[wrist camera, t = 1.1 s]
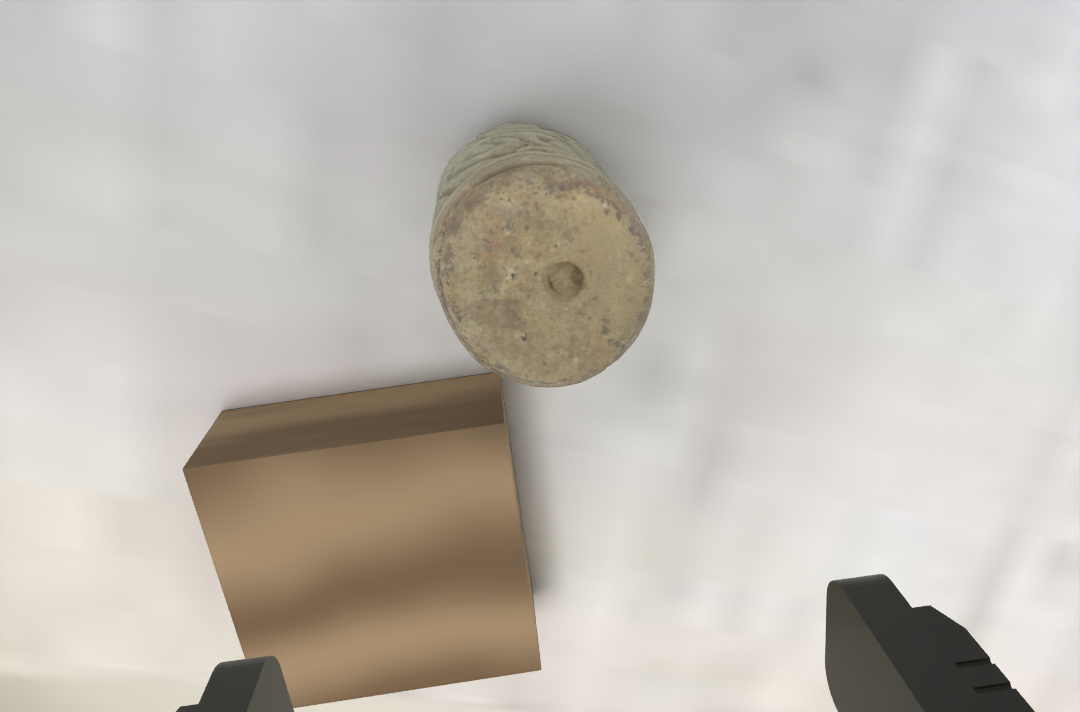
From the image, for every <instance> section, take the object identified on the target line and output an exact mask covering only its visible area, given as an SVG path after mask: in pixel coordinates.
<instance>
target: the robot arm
mask: <svg viewBox="0 0 1080 712" xmlns="http://www.w3.org/2000/svg"><path fill="white" fill-rule="evenodd" d="M825 668H826V675H827V681H828V685H829V689H830V692H831V696H832V698H833V701H834V704H835V706H836V708H837V710H838V712H1035V711H1034V710H1033V709H1032V708H1031V707H1030V705H1029V704H1028V703H1027V702H1026V701H1025V699H1024V698H1023V697H1022V696H1021V695H1020V693H1019V692H1018V691H1017V690H1016V689H1012V687H1011V685H1010V681H1009V680H1008V679H1007V678H1006V677H1005V675H1004V674H1003V673H1002V672H1001V671H1000V669H999V668H998V667H997V666H996V665H995V664H992V663H991V661H990V657H989V656H988V655H987V654H986V653H985V651H984V650H983V649H982V648H981V647H980V645H979V644H978V643H977V642H976V641H975V639H974V638H973V637H972V636H971V635H970V633H969V632H968V631H967V630H966V629H965V628H964V627H962V626H961V625H959V624H958V623H956V622H955V621H953V620H952V619H950V618H949V617H947V616H946V615H944V614H943V613H941V612H939V611H938V610H936V609H935V608H933V607H932V606H922V607H915V608H912V607H911V606H910V605H909V603H908V602H907V601H906V599H905V598H904V597H903V595H902V594H901V593H900V592H899V590H898V589H897V588H896V586H895V585H894V584H893V582H892V581H891V580H890V579H889V578H888V577H887V576H885V575H883V574H878V575H870V576H863V577H856V578H848V579H841V580H834V581H831V582H830V583H829V585H828V588H827V606H826V647H825ZM176 712H294V710H293V706H292V703H291V699H290V696H289V693H288V689H287V686H286V683H285V679H284V676H283V673H282V669H281V666H280V664H279V662H278V660H277V658H276V657H274V656H265V657H257V658H250V659H243V660H236V661H228V662H222V663H219V664H218V665H217V666H216V667H215V669H214V671H213V673H212V675H211V677H210V679H209V682H208V684H207V686H206V688H205V691H204V693H203V695H202V697H201V700H200V702H199V704H196V705H189V706H182V707H180V708H179V709H178V710H177V711H176Z"/></svg>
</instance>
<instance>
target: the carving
mask: <svg viewBox="0 0 1080 712" xmlns="http://www.w3.org/2000/svg"><path fill="white" fill-rule="evenodd" d="M429 248H430V256H429V257H430V270H431V275H432V279H433V283H434V287H435V290H436V293H437V295H438V298H439V300H440V302H441V305H442V308H443V310H444V312H445V315H446V318H447V320H448V322H449V324H450V325H451V327H452V329H453V330H454V332H455V334H456V335H457V337H458V338H459V340H460V341H461V343H462V344H463V345H464V347H465V348H466V349H467V351H468V352H469V353H470V354H471V355H472V356H473V357H474V358H475V359H476V360H477V361H478V362H479V363H480V364H481V365H483V366H484V367H485V368H487V369H488V370H490V371H492V372H493V373H496V374H498V375H500V376H502V377H505V378H507V379H510V380H513V381H516V382H519V383H522V384H527V385H531V386H536V387H562V386H567V385H572V384H577V383H580V382H583V381H585V380H587V379H590V378H591V377H593V376H595V375H597V374H599V373H601V372H602V371H603V370H605V369H606V368H607V367H608V366H610V365H611V364H612V363H614V362H615V361H616V360H618V359H619V358H620V357H621V356H622V355H623V354H624V353H625V352H626V350H627V349H628V348H629V347H630V346H631V345H632V344H633V342H634V341H635V340H636V338H637V337H638V335H639V333H640V331H641V330H642V328H643V326H644V324H645V322H646V320H647V317H648V314H649V311H650V308H651V304H652V298H653V291H654V268H655V267H654V254H653V249H652V245H651V242H650V239H649V236H648V234H647V231H646V229H645V227H644V226H643V224H642V222H641V221H640V218H639V216H638V215H637V213H636V211H635V210H634V208H633V206H632V205H631V203H630V202H629V201H628V199H627V198H626V197H625V196H624V194H623V193H622V192H621V191H620V190H619V189H618V188H617V187H616V186H615V185H614V184H613V183H612V182H611V181H610V180H609V179H608V178H607V177H606V176H605V174H604V172H603V171H602V169H601V168H600V166H599V165H598V164H597V162H596V161H595V160H594V158H593V157H592V156H591V154H590V153H589V152H588V151H587V150H586V149H585V148H584V147H583V146H582V145H581V144H580V143H578V142H577V141H575V140H574V139H572V138H570V137H568V136H565V135H563V134H561V133H558V132H556V131H552V130H545V129H540V128H539V127H538V126H536V125H531V124H518V123H509V124H503V125H500V126H497V127H495V128H494V129H493V130H492V131H489V132H486V133H483V134H481V135H479V136H478V137H477V140H475V141H473V142H472V143H470V144H468V145H467V146H466V147H464V148H463V149H461V150H460V151H459V152H458V153H457V154H456V155H455V156H453V157H452V159H451V160H450V161H449V163H448V164H447V166H446V168H445V170H444V172H443V174H442V177H441V180H440V184H439V188H438V193H437V202H436V208H435V211H434V216H433V224H432V230H431V236H430V246H429Z"/></svg>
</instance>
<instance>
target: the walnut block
mask: <svg viewBox="0 0 1080 712" xmlns="http://www.w3.org/2000/svg"><path fill="white" fill-rule="evenodd" d="M183 472H184V475H185V478H186V481H187V484H188V487H189V490H190V493H191V496H192V499H193V502H194V505H195V508H196V511H197V514H198V517H199V520H200V523H201V526H202V529H203V532H204V535H205V538H206V542H207V545H208V548H209V551H210V554H211V557H212V560H213V563H214V566H215V569H216V572H217V575H218V578H219V581H220V584H221V587H222V590H223V593H224V596H225V599H226V602H227V605H228V608H229V611H230V614H231V617H232V620H233V623H234V626H235V629H236V632H237V635H238V638H239V641H240V644H241V647H242V650H243V653H244V656H245V659H250V658H257V657H265V656H274V657H276V658H277V660H278V662H279V664H280V666H281V669H282V673H283V676H284V679H285V683H286V686H287V689H288V693H289V696H290V699H291V703H292V706H293V708H296V707H303V706H310V705H316V704H323V703H329V702H336V701H343V700H349V699H356V698H362V697H369V696H375V695H382V694H388V693H395V692H401V691H408V690H414V689H421V688H427V687H434V686H440V685H447V684H453V683H460V682H466V681H473V680H479V679H486V678H492V677H499V676H505V675H512V674H518V673H525V672H531V671H538V670H541V662H540V653H539V644H538V636H537V627H536V618H535V609H534V600H533V592H532V586H531V579H530V572H529V566H528V559H527V552H526V545H525V539H524V532H523V525H522V519H521V512H520V505H519V498H518V492H517V485H516V478H515V472H514V465H513V458H512V451H511V445H510V438H509V431H508V424H507V418H506V411H505V404H504V398H503V391H502V384H501V377H500V375H498V374H496V373H488V374H481V375H474V376H466V377H459V378H452V379H445V380H438V381H431V382H424V383H417V384H410V385H402V386H395V387H388V388H381V389H374V390H367V391H360V392H353V393H346V394H339V395H331V396H324V397H317V398H310V399H303V400H296V401H289V402H282V403H275V404H267V405H260V406H253V407H246V408H239V409H232V410H225V411H222V412H221V413H220V415H219V416H218V418H217V419H216V421H215V422H214V424H213V425H212V427H211V428H210V429H209V431H208V432H207V434H206V435H205V437H204V438H203V440H202V441H201V443H200V444H199V446H198V447H197V449H196V450H195V452H194V453H193V455H192V456H191V457H190V459H189V460H188V462H187V463H186V465H185V466H184V468H183Z"/></svg>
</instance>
